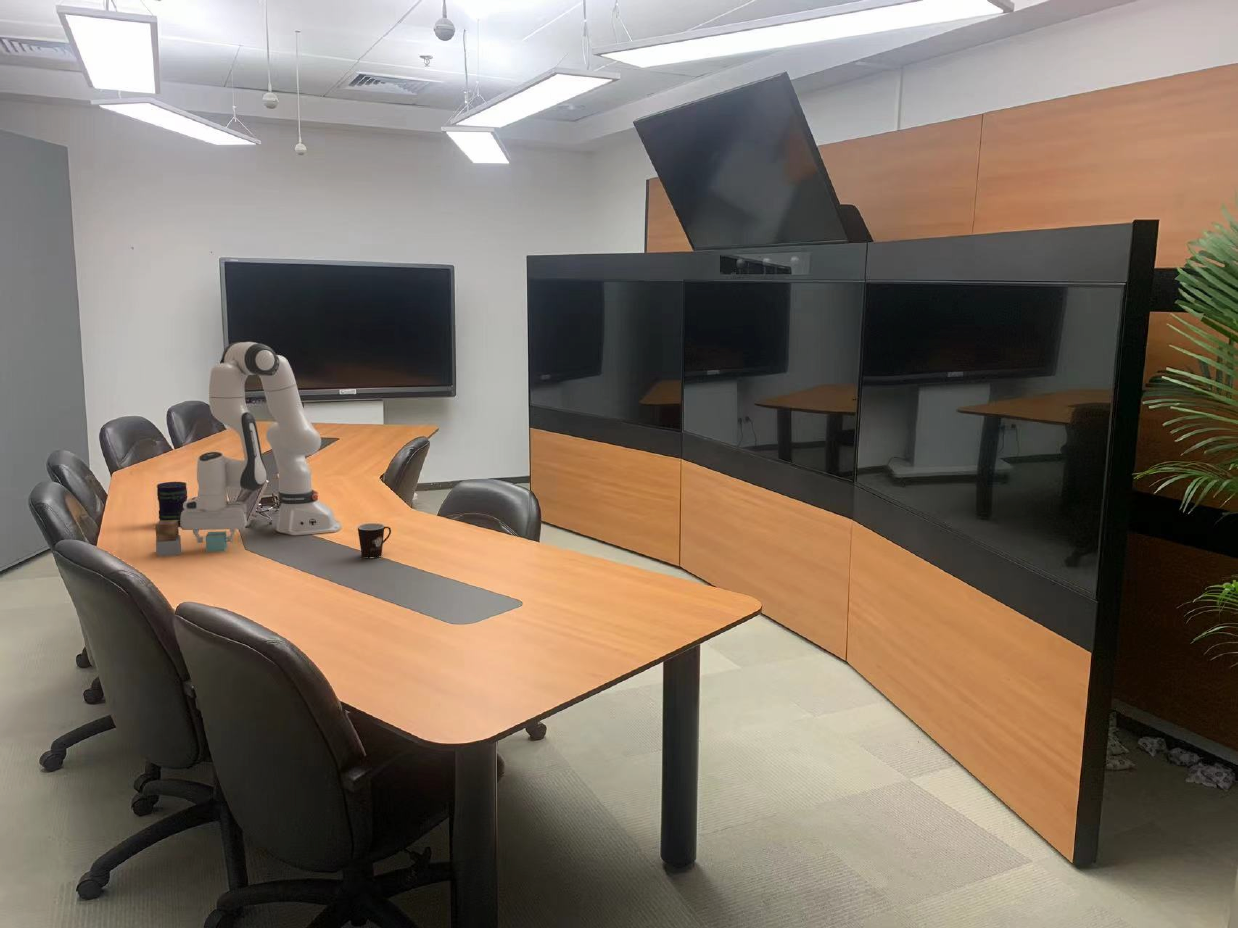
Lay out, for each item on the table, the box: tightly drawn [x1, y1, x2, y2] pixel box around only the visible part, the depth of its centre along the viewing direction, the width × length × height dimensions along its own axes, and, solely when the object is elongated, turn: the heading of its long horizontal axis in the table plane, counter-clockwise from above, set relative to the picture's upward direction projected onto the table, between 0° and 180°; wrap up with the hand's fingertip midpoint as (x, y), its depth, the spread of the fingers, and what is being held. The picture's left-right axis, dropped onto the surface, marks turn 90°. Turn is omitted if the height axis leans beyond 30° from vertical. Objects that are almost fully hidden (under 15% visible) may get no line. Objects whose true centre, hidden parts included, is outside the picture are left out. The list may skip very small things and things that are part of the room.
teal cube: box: [205, 530, 228, 553], centre depth 301 cm, size 6×6×6 cm
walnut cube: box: [154, 520, 180, 542], centre depth 295 cm, size 6×6×6 cm
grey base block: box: [155, 534, 182, 558], centre depth 296 cm, size 7×7×5 cm
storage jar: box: [156, 481, 188, 528], centre depth 329 cm, size 10×10×15 cm
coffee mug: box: [357, 522, 392, 559], centre depth 299 cm, size 12×9×10 cm
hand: (214, 541), depth 301 cm, fingers open, 8 cm apart
